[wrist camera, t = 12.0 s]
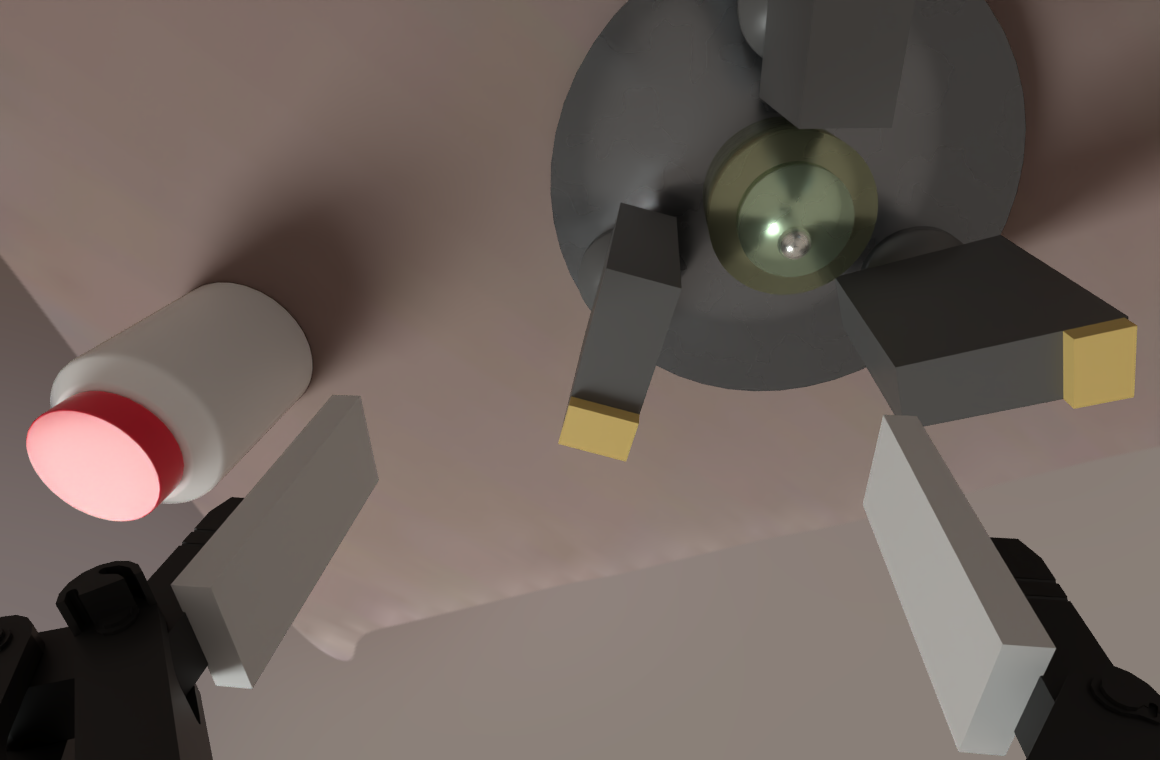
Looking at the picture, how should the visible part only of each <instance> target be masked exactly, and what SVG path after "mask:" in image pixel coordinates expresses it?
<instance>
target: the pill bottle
mask: <svg viewBox="0 0 1160 760" xmlns="http://www.w3.org/2000/svg"><path fill="white" fill-rule="evenodd" d="M312 371H313V366H312V355H311V351H310V346H309V344H308V341H307V339H306V337H305V335H304V332H303V331H302V329H301V328H300V326H299V325H298V323H297V322H296V320H295V319H294V318H293V317H292V316H291V315H290V314H289V313H288V312H287V310H286V309H285V308H283V307H282V306H281V305H280V304H278V303H277V302H276V301H275V300H273V299H272V298H270V297H268V296H267V295H265V294H263V293H262V292H260V291H258V290H255V289H252V288H250V287H247V286H244V285H240V284H235V283H220V282H217V283H212V284H206V285H203V286H201V287H199V288H197V289H194V290H192V291H190V292H189V293H187V294H185V295H184V296H182V297H180V298H178V299H177V300H175V301H173V302H172V303H170V304H168V305H166V306H165V307H163V308H161V309H159V310H158V311H156V312H154V313H153V314H151V315H149V316H147V317H146V318H144V319H142V320H141V321H139V322H137V323H135V324H134V325H132V326H130V327H128V328H127V329H125V330H123V331H122V332H120V333H118V334H116V335H115V336H113V337H111V338H110V339H108V340H106V341H104V342H103V343H101V344H99V345H97V346H96V347H94V348H92V349H91V350H89V351H87V352H85V353H84V354H82V355H80V356H79V357H77V358H75V359H74V360H72V361H71V362H70V363H69V364H67V365H66V366H65V367H64V368H63V369H62V370H61V371H60V372H59V374H58V376H57V377H56V379H55V381H54V382H53V386H52V390H51V394H50V401H51V402H50V403H51V409H50V410H48V411H47V412H45V413H43V414H42V415H40V416H39V417H38V418H37V419H36V420H34V422H33V423H32V425H31V426H30V428H29V429H28V434H27V437H26V445H27V452H28V456H29V459H30V461H31V463H32V465H33V467H34V469H35V471H36V473H37V474H38V475H39V477H40V478H41V479H42V481H43V482H44V483H45V484H46V485H47V486H48V487H49V489H51V491H52V492H54V493H55V494H56V495H57V496H58V497H60V498H61V499H62V500H64V501H65V502H67V503H68V504H70V505H71V506H73V507H74V508H77V509H78V510H80V511H82V512H85V513H86V514H89V515H92V516H94V517H97V518H100V519H106V520H110V521H122V522H124V521H133V520H137V519H140V518H142V517H145V516H146V515H148V514H149V513H151V512H152V511H153V510H154V509H155V508H156V507H157V506H158V505H159V504H160V503H168V504H174V503H182V502H188V501H191V500H194V499H197V498H200V497H201V496H203V495H205V494H206V493H208V492H209V491H211V490H212V489H213V488H214V487H215V486H216V485H217V484H218V483H219V482H220V481H221V480H222V479H223V478H224V477H225V476H226V475H227V474H228V473H229V472H230V471H231V470H232V469H233V467H234V466H235V465H236V464H237V463H238V462H239V461H240V460H241V459H242V458H243V457H244V456H245V455H246V454H247V453H248V452H249V451H250V450H251V449H252V448H253V447H254V445H255V444H256V443H257V442H258V441H259V440H260V439H261V438H262V437H263V436H264V435H265V434H266V433H267V432H268V431H269V430H270V429H271V428H272V427H273V426H274V425H275V423H276V422H277V421H278V420H279V419H280V418H281V417H282V416H283V415H284V414H285V413H286V412H287V411H288V410H289V409H290V408H291V407H292V406H293V405H294V404H295V402H296V401H297V400H298V399H299V398H300V397H301V396H302V395H303V394H304V392H305V391H306V389H307V387H308V385H309V383H310V380H311V376H312Z"/></svg>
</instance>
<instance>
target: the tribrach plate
mask: <svg viewBox="0 0 1160 760" xmlns="http://www.w3.org/2000/svg"><path fill="white" fill-rule="evenodd" d="M762 60H763V58H762V57H761V56H759V55H758V54H757V53H756V52H755V51H754V50H753V49H752V48H751V47H750V46H749V44H748V43H747V42H746V40H745V38H744V36H743V34H742V31H741V29H740V25H739V21H738V14H737V0H629V1H628V2H627V3H626V4H625V5H624V6H623V7H622V8H621V9H620V10H619V11H618V12H617V13H616V14H615V15H614V16H613V18H612V19H611V20H610V22H609V23H608V24H607V26H606V27H605V28H604V30H603V31H602V32H601V34H600V35H599V36H598V38H597V39H596V40H595V42H594V43H593V45H592V47H591V48H590V50H589V52H588V54H587V55H586V57H585V59H584V61H583V62H582V64H581V66H580V68H579V69H578V71H577V73H576V75H575V78H574V80H573V83H572V85H571V87H570V90H569V92H568V95H567V97H566V99H565V102H564V105H563V109H562V112H561V116H560V119H559V123H558V127H557V130H556V135H555V141H554V148H553V155H552V162H551V200H552V209H553V219H554V224H555V228H556V233H557V237H558V241H559V245H560V249H561V251H562V254H563V257H564V259H565V262H566V264H567V267H568V270H569V272H570V274H571V276H572V278H573V280H574V282H575V284H576V285H577V287H578V289H579V284H578V273H579V267H580V264H581V261H582V258H583V255H584V253H585V251H586V249H587V248H588V246H589V245H590V244H591V243H592V241H593V240H594V239H596V238H597V237H598V236H599V235H601V234H602V233H604V232H606V231H608V230H610V229H613V228H614V225H615V222H616V218H617V214H618V211H619V207H620V203H621V202H622V203H625V204H629V205H633V206H636V207H640V208H644V209H647V210H651V211H655V212H658V213H662V214H666V215H669V216H673V217H676V218H677V231H678V245H679V258H680V272H681V285H682V289H681V292H680V295H679V298H678V301H677V304H676V307H675V310H674V313H673V316H672V319H671V322H670V325H669V328H668V331H667V334H666V337H665V340H664V343H663V346H662V349H661V352H660V355H659V358H658V360H657V363H656V366H658V367H661V368H663V369H665V370H667V371H669V372H671V373H673V374H676V375H678V376H680V377H683V378H686V379H689V380H693V381H696V382H699V383H702V384H706V385H711V386H716V387H721V388H726V389H735V390H747V391H775V390H786V389H793V388H801V387H807V386H811V385H815V384H819V383H823V382H827V381H831V380H835V379H837V378H840V377H843V376H846V375H848V374H851V373H854V372H856V371H859V370H861V369H863V368H865V367H866V365H865V364H864V362H863V360H862V359H861V357H860V355H859V353H858V352H857V350H856V348H855V347H854V345H853V343H852V342H851V340H850V338H849V336H848V335H847V333H846V331H845V330H844V328H843V324H842V318H841V312H840V305H839V299H838V293H837V287H836V281H835V279H836V278H837V277H838V276H841V275H845V274H849V273H852V272H856V271H860V270H861V267H862V264H863V262H864V260H865V258H866V257H867V256H868V254H869V253H870V251H871V250H872V249H873V248H874V247H875V246H876V245H877V244H878V243H879V242H880V241H882V240H883V239H884V238H886V237H888V236H889V235H891V234H893V233H895V232H897V231H899V230H902V229H905V228H910V227H916V226H930V227H936V228H939V229H942V230H944V231H946V232H948V233H950V234H951V235H953V236H954V237H955V238H957V239H958V240H959V241H961V242H962V243H963V244H966V243H970V242H974V241H978V240H982V239H986V238H990V237H994V236H998V235H1000V234H1001V232H1002V230H1003V228H1004V226H1005V224H1006V222H1007V219H1008V216H1009V213H1010V210H1011V208H1012V205H1013V202H1014V199H1015V196H1016V193H1017V189H1018V184H1019V179H1020V175H1021V170H1022V165H1023V160H1024V146H1025V132H1026V123H1025V109H1024V95H1023V90H1022V86H1021V81H1020V77H1019V72H1018V68H1017V63H1016V61H1015V58H1014V56H1013V53H1012V50H1011V48H1010V45H1009V43H1008V40H1007V38H1006V35H1005V33H1004V31H1003V29H1002V27H1001V26H1000V24H999V22H998V21H997V19H996V17H995V16H994V14H993V12H992V11H991V9H990V7H989V6H988V4H987V3H986V2H985V0H915V4H914V10H913V15H912V20H911V26H910V31H909V37H908V42H907V48H906V53H905V59H904V64H903V70H902V75H901V80H900V86H899V91H898V97H897V102H896V108H895V113H894V119H893V124H892V128H838V129H798V128H797V127H796V126H794V125H793V124H792V123H791V122H790V121H788V120H787V119H786V118H785V117H783V116H782V115H781V114H780V113H778V112H777V111H776V110H775V109H773V108H772V107H771V106H770V105H768V104H767V103H766V102H765V101H763V100H762V99H761V98H760V97H759V92H760V82H761V71H762ZM579 291H580V289H579Z"/></svg>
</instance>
